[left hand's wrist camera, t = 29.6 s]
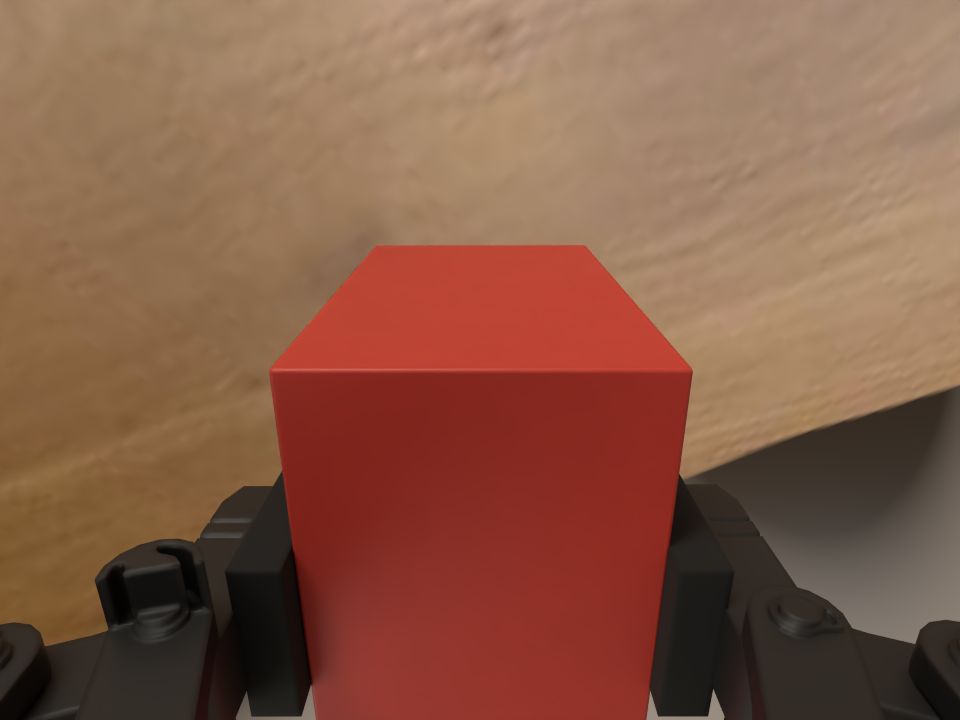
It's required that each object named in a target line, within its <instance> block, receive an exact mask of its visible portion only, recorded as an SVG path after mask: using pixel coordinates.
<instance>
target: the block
mask: <svg viewBox="0 0 960 720" xmlns="http://www.w3.org/2000/svg"><path fill="white" fill-rule="evenodd" d="M692 373H693V371H692V368H691V367H690V366H689V365H688V364H687V362H686V361H685V360H684V359H683V358H682V357H681V356H680V354H679V353H678V352H677V351H676V350H675V349H674V347H673V346H672V345H671V344H670V343H669V342H668V341H667V339H666V338H665V337H664V336H663V335H662V334H661V332H660V331H659V330H658V329H657V328H656V327H655V326H654V324H653V323H652V322H651V321H650V320H649V319H648V317H647V316H646V315H645V314H644V313H643V312H642V310H641V309H640V308H639V307H638V306H637V305H636V304H635V302H634V301H633V300H632V299H631V298H630V297H629V295H628V294H627V293H626V292H625V291H624V290H623V289H622V287H621V286H620V285H619V284H618V283H617V282H616V280H615V279H614V278H613V277H612V276H611V275H610V274H609V272H608V271H607V270H606V269H605V268H604V267H603V265H602V264H601V263H600V262H599V261H598V260H597V259H596V257H595V256H594V255H593V254H592V253H591V252H590V250H589V249H588V248H587V247H586V246H584V245H546V246H375V248H374V249H373V250H372V251H371V252H370V253H369V255H368V256H367V257H366V258H365V259H364V260H363V262H362V263H361V264H360V265H359V266H358V267H357V269H356V270H355V271H354V272H353V273H352V274H351V276H350V277H349V278H348V279H347V280H346V281H345V282H344V284H343V285H342V286H341V287H340V288H339V289H338V291H337V292H336V293H335V294H334V295H333V296H332V298H331V299H330V300H329V301H328V302H327V303H326V305H325V306H324V307H323V308H322V309H321V310H320V312H319V313H318V314H317V315H316V316H315V317H314V318H313V320H312V321H311V322H310V323H309V324H308V325H307V327H306V328H305V329H304V330H303V331H302V332H301V334H300V335H299V336H298V337H297V338H296V339H295V341H294V342H293V343H292V344H291V345H290V346H289V348H288V349H287V350H286V351H285V352H284V353H283V355H282V356H281V357H280V358H279V359H278V360H277V361H276V363H275V364H274V365H273V366H272V367H271V368H270V371H269V374H270V382H271V389H272V397H273V404H274V411H275V419H276V426H277V434H278V441H279V448H280V456H281V463H282V471H283V478H284V485H285V493H286V500H287V508H288V515H289V522H290V530H291V537H292V545H293V552H294V560H295V567H296V574H297V582H298V589H299V597H300V604H301V611H302V619H303V626H304V634H305V641H306V648H307V656H308V663H309V671H310V678H311V685H312V693H313V700H314V708H315V715H316V720H646V718H647V710H648V703H649V695H650V682H651V675H652V668H653V660H654V653H655V645H656V638H657V630H658V623H659V615H660V608H661V601H662V593H663V586H664V578H665V571H666V563H667V556H668V548H669V545H670V538H671V530H672V523H673V515H674V508H675V500H676V493H677V485H678V478H679V471H680V463H681V456H682V448H683V441H684V433H685V426H686V418H687V411H688V403H689V396H690V388H691V381H692Z"/></svg>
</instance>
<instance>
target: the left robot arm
mask: <svg viewBox="0 0 960 720" xmlns="http://www.w3.org/2000/svg"><path fill="white" fill-rule="evenodd" d="M95 583H96V586H97V590H98V593H99V597H100V600H101V604H102V608H103V611H104V615H105V618H106V622H107V625H108V631H106V632H102V633H99V634H96V635H93V636H89V637H84V638H80V639H76V640H71V641H67V642H63V643H59V644H54V645H50V646H46V647H45V646H44V643H43V640H42V637H41V634H40V632H39V631H38V630H37V629H35V628H34V627H33V626H32V625H29V624H22V623H15V622H14V623H7V624H1V625H0V720H236V715H237V713H238V710H239V708H240V705H241V703H242V701H243V698H244V696H245V693H246V691H247V694H248V700H249V705H250V710H251V716H302V713H303V709H304V706H305V703H306V699H307V696H308V693H309V689H310V686H311V678H310V671H309V663H308V656H307V648H306V641H305V634H304V626H303V619H302V611H301V604H300V597H299V589H298V582H297V574H296V567H295V560H294V552H293V545H292V537H291V530H290V522H289V515H288V508H287V500H286V493H285V485H284V478H283V471H282V472H281V474H280V475H279V477H278V479H277V481H276V482H275V484H274V486H244V487H242V488H241V489H239V490H238V491H237V492H235V493H234V494H233V495H231V496H230V497H228V498H227V499H226V500H224V501H223V502H222V503H221V505H220V506H219V508H218V509H217V511H216V512H215V514H214V515H213V517H212V518H211V522H210V523H208V524H207V526H206V527H205V528H204V530H203V531H202V533H201V534H200V538H198V539H197V540H196V542H195V543H193V542H190V541H186V540H182V539H163V540H157V541H153V542H149V543H145V544H141V545H138V546H136V547H134V548H132V549H130V550H128V551H126V552H123V553H121V554H120V555H118V556H117V557H116V558H114V559H113V560H112V561H110V562H109V563H108V564H106V565H105V566H104V567H103V568H102V570H101V571H100V572H99V574H98V575H97V577H96V578H95ZM713 689H714V691H715V694H716V696H717V699H718V701H719V704H720V706H721V708H722V711H723V713H724V716H725V718H724V720H960V622H957V621H950V620H942V621H934V622H929V623H928V624H927V625H926V626H924V627H923V628H922V629H921V630H920V632H919V635H918V638H917V641H916V644H912V643H908V642H904V641H899V640H895V639H891V638H886V637H882V636H878V635H873V634H869V633H866V632H862V631H859V630H856V629H853V628H852V627H851V626H850V624H849V623H848V621H847V619H846V618H845V616H844V615H843V613H842V612H840V611H839V610H838V609H837V608H836V607H835V606H833V605H832V604H831V603H830V602H829V601H827V600H825V599H823V598H822V597H820V596H818V595H816V594H814V593H812V592H810V591H808V590H804V589H801V588H797V586H796V585H795V583H794V582H793V581H792V579H791V578H790V576H789V575H788V573H787V572H786V570H785V569H784V567H783V566H782V565H781V563H780V562H779V560H778V559H777V557H776V556H775V554H774V553H773V551H772V550H771V548H770V547H769V546H768V544H767V543H766V541H765V540H764V538H763V537H762V536H760V532H759V531H758V529H757V528H756V526H755V525H754V524H753V522H752V521H750V520H749V516H748V515H747V513H746V512H745V510H744V509H743V507H742V506H741V505H740V503H739V502H738V500H737V499H735V498H734V497H733V496H731V495H730V494H729V493H727V492H726V491H724V490H723V489H722V488H720V487H719V486H717V485H716V484H685V483H684V481H683V480H682V478H681V476H680V474H679V478H678V485H677V493H676V500H675V508H674V515H673V523H672V530H671V538H670V545H669V548H668V556H667V563H666V571H665V578H664V586H663V593H662V601H661V608H660V615H659V623H658V630H657V638H656V645H655V653H654V660H653V668H652V675H651V682H650V691H651V694H652V697H653V701H654V704H655V707H656V711H657V714H658V716H708V714H709V708H710V703H711V697H712V692H713Z"/></svg>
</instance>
